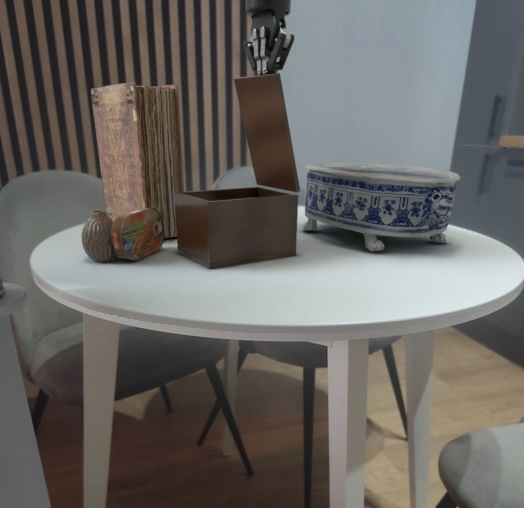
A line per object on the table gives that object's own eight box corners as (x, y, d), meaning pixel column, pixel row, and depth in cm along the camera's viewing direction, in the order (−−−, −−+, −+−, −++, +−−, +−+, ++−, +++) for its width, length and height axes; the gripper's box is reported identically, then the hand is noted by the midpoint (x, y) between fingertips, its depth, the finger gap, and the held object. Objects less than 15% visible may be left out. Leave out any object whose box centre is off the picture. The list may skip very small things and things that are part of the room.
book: (187, 238, 109) (179, 84, 97) (147, 243, 104) (133, 82, 92) (141, 220, 128) (129, 89, 115) (106, 223, 123) (90, 87, 111)
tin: (126, 265, 89) (121, 217, 85) (111, 264, 90) (105, 216, 86) (167, 247, 102) (164, 205, 98) (153, 246, 102) (150, 204, 99)
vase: (76, 262, 90) (69, 213, 87) (98, 253, 96) (92, 207, 93) (109, 265, 89) (103, 215, 85) (130, 256, 95) (125, 209, 91)
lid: (275, 74, 81) (280, 72, 81) (233, 78, 91) (237, 77, 92) (296, 192, 91) (300, 191, 92) (256, 184, 102) (260, 183, 102)
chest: (210, 269, 87) (207, 202, 82) (177, 252, 98) (173, 192, 93) (296, 255, 97) (298, 194, 92) (258, 241, 107) (258, 186, 102)
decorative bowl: (271, 226, 123) (272, 161, 116) (353, 216, 135) (358, 158, 129) (397, 266, 90) (408, 179, 84) (489, 249, 103) (505, 173, 96)
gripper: (228, -15, 85) (230, 99, 92) (271, -32, 75) (269, 97, 82) (265, -9, 88) (264, 100, 96) (311, -25, 78) (305, 98, 86)
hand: (266, 98), depth 89 cm, fingers closed
